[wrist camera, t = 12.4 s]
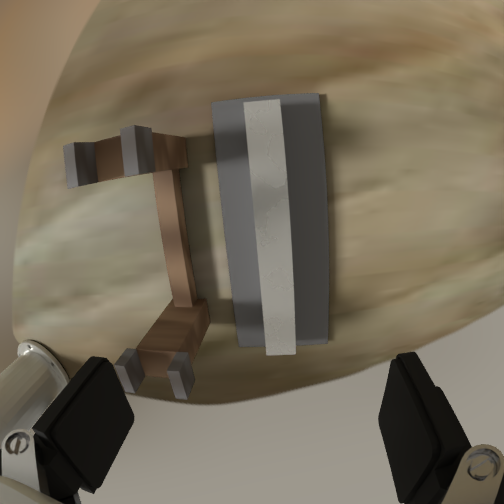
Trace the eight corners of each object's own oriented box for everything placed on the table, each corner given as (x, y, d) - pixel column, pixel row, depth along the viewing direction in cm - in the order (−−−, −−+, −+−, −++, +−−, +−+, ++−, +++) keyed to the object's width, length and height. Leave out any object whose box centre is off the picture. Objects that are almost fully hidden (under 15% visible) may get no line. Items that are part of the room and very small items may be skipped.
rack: (218, 322, 33) (187, 399, 22) (170, 322, 34) (125, 391, 22) (194, 136, 28) (134, 125, 16) (141, 145, 28) (63, 146, 16)
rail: (295, 338, 32) (295, 354, 29) (268, 339, 33) (266, 355, 30) (280, 105, 25) (279, 99, 22) (247, 108, 26) (243, 102, 23)
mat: (327, 340, 33) (327, 343, 32) (239, 343, 34) (239, 346, 33) (317, 94, 25) (318, 93, 25) (212, 103, 26) (211, 102, 26)
